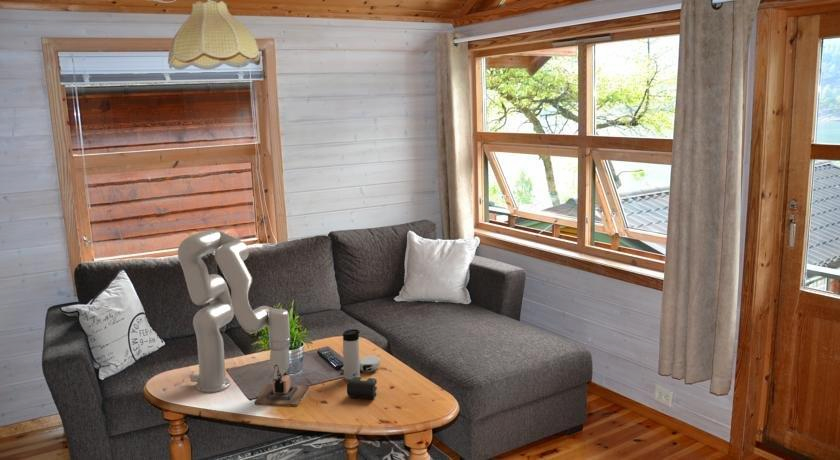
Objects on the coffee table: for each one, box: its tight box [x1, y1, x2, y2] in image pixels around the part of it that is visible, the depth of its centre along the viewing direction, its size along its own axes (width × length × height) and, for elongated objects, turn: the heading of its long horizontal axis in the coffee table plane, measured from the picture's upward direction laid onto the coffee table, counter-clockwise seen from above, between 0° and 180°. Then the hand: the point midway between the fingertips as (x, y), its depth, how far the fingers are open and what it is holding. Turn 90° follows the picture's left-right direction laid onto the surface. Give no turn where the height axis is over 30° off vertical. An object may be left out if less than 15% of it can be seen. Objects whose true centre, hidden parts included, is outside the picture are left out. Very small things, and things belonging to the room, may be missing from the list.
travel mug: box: [342, 329, 361, 382], centre depth 270 cm, size 6×7×20 cm
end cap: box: [346, 376, 378, 400], centre depth 255 cm, size 10×7×7 cm
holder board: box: [253, 383, 310, 407], centre depth 256 cm, size 16×16×2 cm
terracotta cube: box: [272, 374, 291, 394], centre depth 256 cm, size 5×5×5 cm
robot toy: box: [340, 354, 381, 373], centre depth 281 cm, size 12×4×15 cm
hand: (281, 388), depth 256 cm, fingers closed on terracotta cube, 4 cm apart
